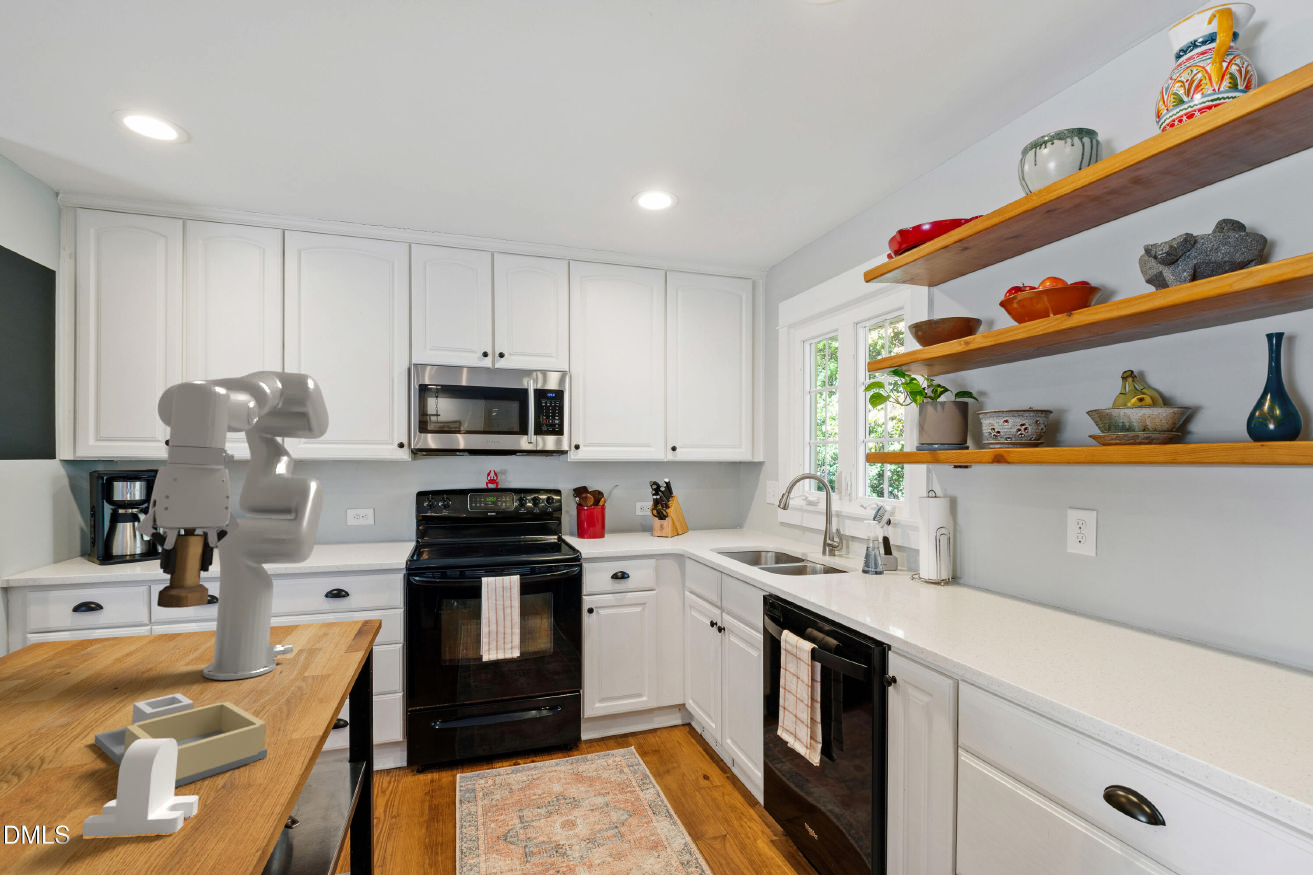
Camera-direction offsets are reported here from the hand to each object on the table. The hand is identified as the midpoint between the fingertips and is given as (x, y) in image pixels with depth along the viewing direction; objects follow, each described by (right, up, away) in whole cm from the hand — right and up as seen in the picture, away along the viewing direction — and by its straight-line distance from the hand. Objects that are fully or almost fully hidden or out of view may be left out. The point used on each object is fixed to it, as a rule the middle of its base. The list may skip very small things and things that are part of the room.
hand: (186, 570), depth 101 cm
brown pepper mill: (0, -5, 0) cm, 5 cm away
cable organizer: (+14, -25, -26) cm, 39 cm away
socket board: (+4, -26, -7) cm, 27 cm away
